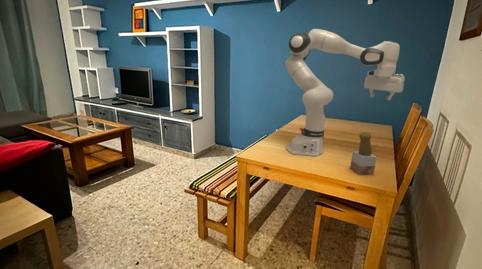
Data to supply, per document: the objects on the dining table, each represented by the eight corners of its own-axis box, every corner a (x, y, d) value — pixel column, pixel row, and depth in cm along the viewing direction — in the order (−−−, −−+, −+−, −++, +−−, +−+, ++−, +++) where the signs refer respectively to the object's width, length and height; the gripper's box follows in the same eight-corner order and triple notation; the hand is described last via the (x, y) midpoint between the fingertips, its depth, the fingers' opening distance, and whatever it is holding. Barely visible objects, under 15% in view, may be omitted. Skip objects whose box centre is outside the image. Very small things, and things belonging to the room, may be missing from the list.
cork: (358, 149, 130) (358, 130, 126) (371, 149, 128) (371, 130, 123) (358, 155, 125) (358, 135, 121) (372, 155, 123) (372, 135, 118)
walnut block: (359, 175, 125) (361, 166, 124) (349, 168, 133) (351, 160, 131) (373, 174, 127) (375, 165, 125) (363, 168, 134) (365, 159, 133)
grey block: (359, 166, 124) (361, 157, 122) (351, 159, 132) (352, 151, 130) (374, 166, 125) (376, 156, 123) (365, 159, 132) (367, 150, 131)
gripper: (408, 74, 127) (402, 101, 132) (371, 71, 144) (366, 95, 148) (402, 74, 124) (396, 102, 129) (364, 71, 141) (360, 96, 145)
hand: (380, 98), depth 139 cm, fingers open, 8 cm apart
